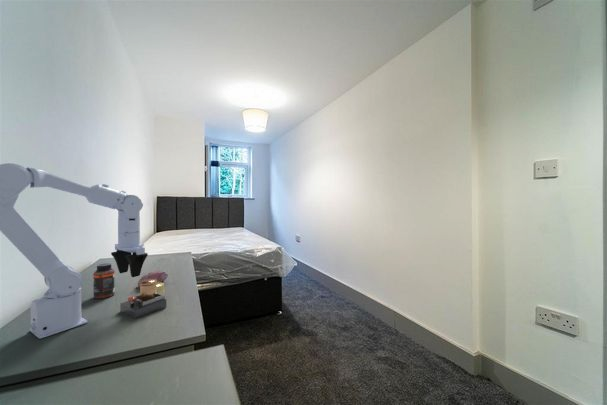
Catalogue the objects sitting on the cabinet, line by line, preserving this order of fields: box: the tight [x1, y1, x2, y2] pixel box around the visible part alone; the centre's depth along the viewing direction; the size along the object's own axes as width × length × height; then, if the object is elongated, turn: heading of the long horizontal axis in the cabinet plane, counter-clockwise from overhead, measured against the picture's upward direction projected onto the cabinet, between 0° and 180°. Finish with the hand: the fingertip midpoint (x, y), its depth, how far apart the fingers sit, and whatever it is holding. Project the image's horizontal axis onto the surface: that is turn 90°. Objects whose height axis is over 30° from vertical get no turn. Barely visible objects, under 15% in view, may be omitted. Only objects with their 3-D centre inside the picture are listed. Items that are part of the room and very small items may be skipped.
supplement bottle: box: [92, 262, 116, 300], centre depth 87 cm, size 6×6×11 cm
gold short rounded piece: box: [157, 282, 165, 295], centre depth 87 cm, size 6×6×4 cm
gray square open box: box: [119, 293, 167, 320], centre depth 77 cm, size 9×9×5 cm
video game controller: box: [137, 270, 169, 288], centre depth 98 cm, size 10×5×7 cm, turn 143°
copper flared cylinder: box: [138, 279, 157, 301], centre depth 78 cm, size 5×5×6 cm
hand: (129, 274), depth 79 cm, fingers open, 7 cm apart
